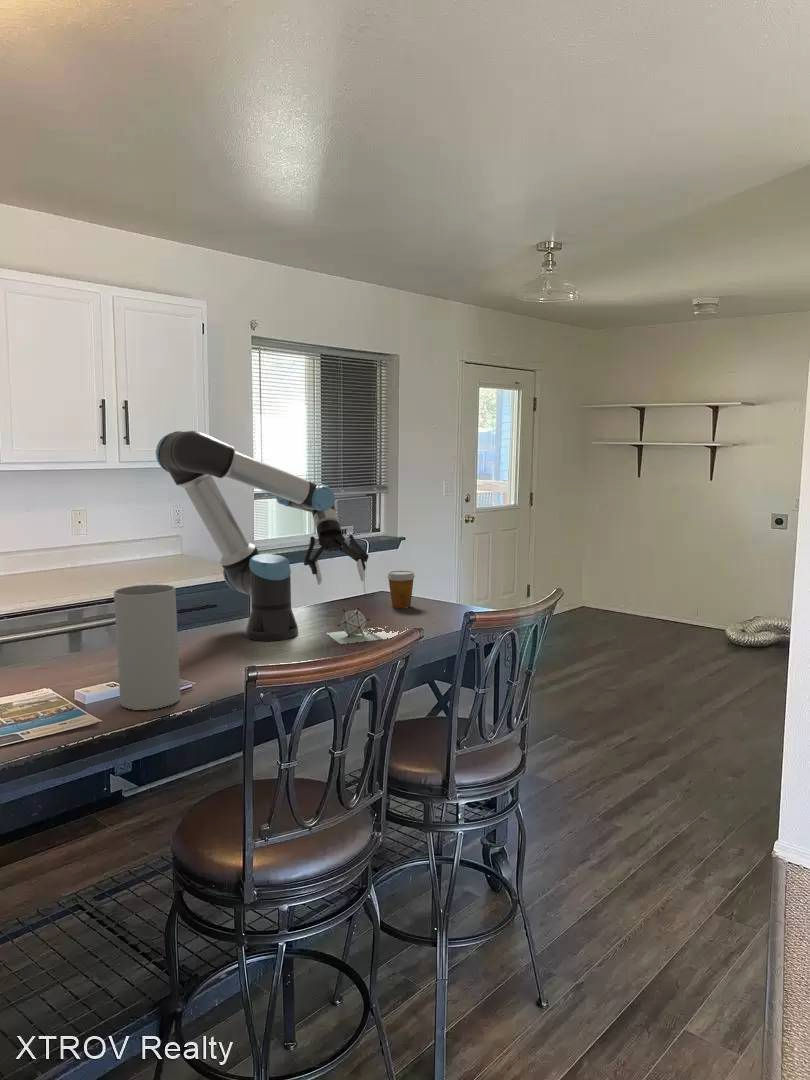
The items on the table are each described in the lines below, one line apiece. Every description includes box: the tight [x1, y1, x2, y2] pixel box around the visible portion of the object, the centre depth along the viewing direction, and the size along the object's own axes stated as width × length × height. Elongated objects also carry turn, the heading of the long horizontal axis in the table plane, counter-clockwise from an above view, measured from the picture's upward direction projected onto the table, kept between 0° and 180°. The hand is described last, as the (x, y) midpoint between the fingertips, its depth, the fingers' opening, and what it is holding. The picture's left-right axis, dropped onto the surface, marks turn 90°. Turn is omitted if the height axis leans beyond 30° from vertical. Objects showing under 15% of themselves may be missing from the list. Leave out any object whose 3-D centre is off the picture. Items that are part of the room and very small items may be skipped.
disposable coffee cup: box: [386, 570, 416, 609], centre depth 269 cm, size 10×10×12 cm
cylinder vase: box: [113, 584, 181, 711], centre depth 169 cm, size 12×12×25 cm
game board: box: [325, 626, 408, 645], centre depth 230 cm, size 24×14×1 cm, turn 112°
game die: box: [336, 607, 371, 637], centre depth 227 cm, size 9×8×10 cm
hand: (341, 580), depth 235 cm, fingers open, 13 cm apart
